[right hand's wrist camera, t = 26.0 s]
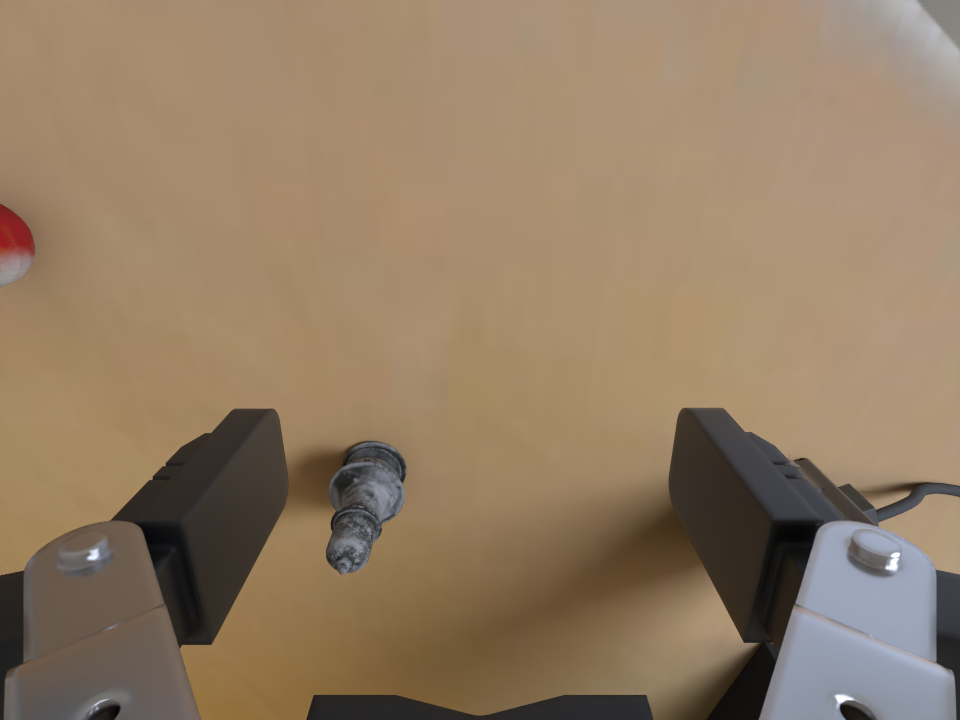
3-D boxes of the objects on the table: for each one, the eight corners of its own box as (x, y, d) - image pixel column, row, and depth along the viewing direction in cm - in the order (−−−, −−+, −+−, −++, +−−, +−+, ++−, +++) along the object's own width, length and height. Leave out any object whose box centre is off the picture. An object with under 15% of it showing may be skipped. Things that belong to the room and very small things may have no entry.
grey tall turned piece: (404, 503, 48) (382, 614, 37) (336, 492, 47) (291, 602, 36) (414, 444, 46) (393, 543, 34) (342, 432, 45) (297, 529, 34)
